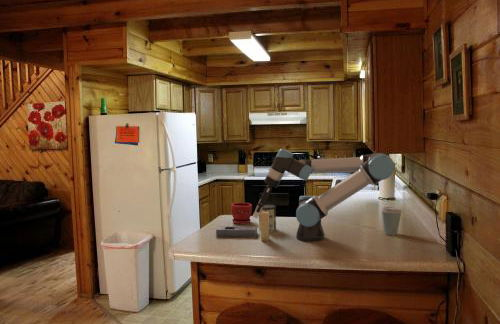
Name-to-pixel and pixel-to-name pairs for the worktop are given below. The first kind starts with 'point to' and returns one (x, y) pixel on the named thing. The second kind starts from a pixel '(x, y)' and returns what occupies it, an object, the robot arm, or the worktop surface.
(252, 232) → the grey flat block
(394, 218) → the disposable coffee cup
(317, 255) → the worktop surface
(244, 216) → the plant pot
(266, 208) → the coffee can
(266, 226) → the brass peg
